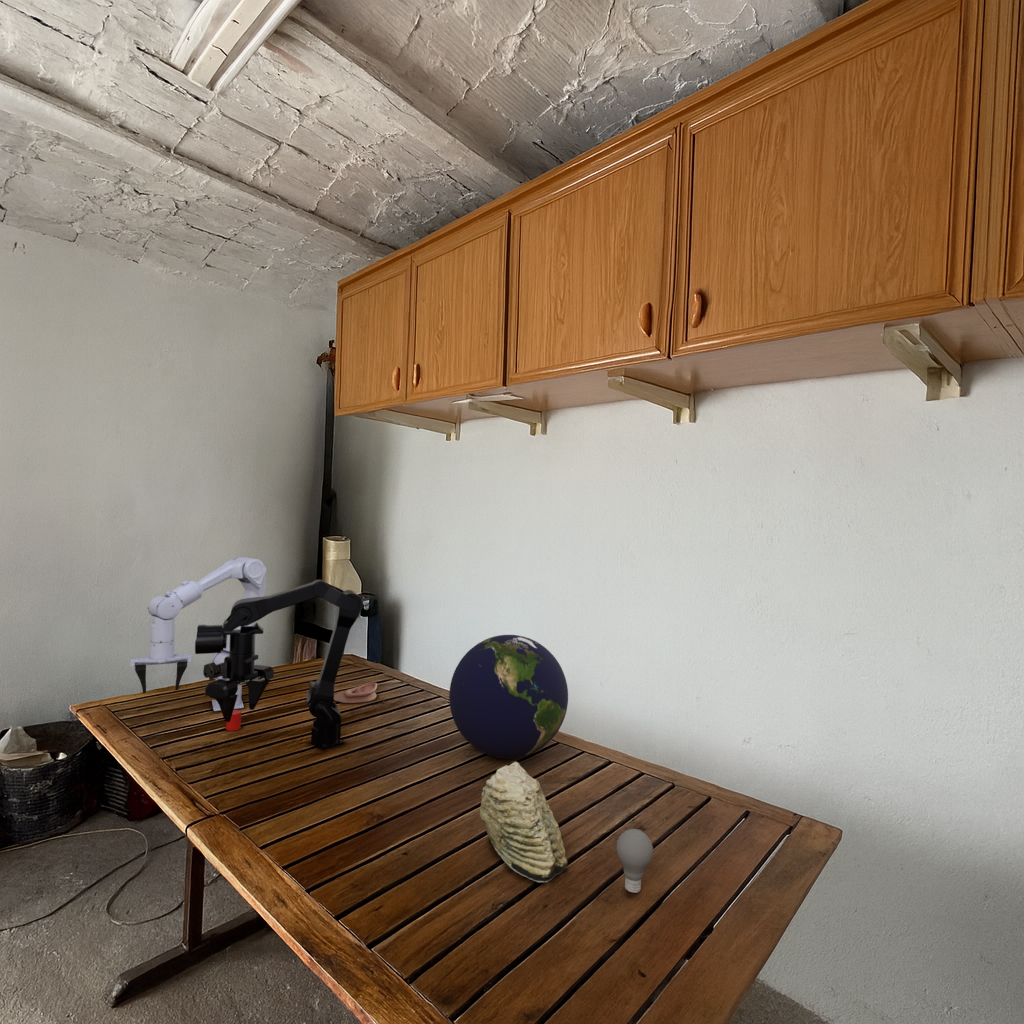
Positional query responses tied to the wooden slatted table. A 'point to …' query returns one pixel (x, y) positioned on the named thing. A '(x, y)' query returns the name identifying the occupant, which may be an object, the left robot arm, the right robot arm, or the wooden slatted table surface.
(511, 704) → the globe
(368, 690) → the anatomical model
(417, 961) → the wooden slatted table surface
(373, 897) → the wooden slatted table surface
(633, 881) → the light bulb
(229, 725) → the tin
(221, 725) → the wooden slatted table surface
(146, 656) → the left robot arm
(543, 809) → the fossil
